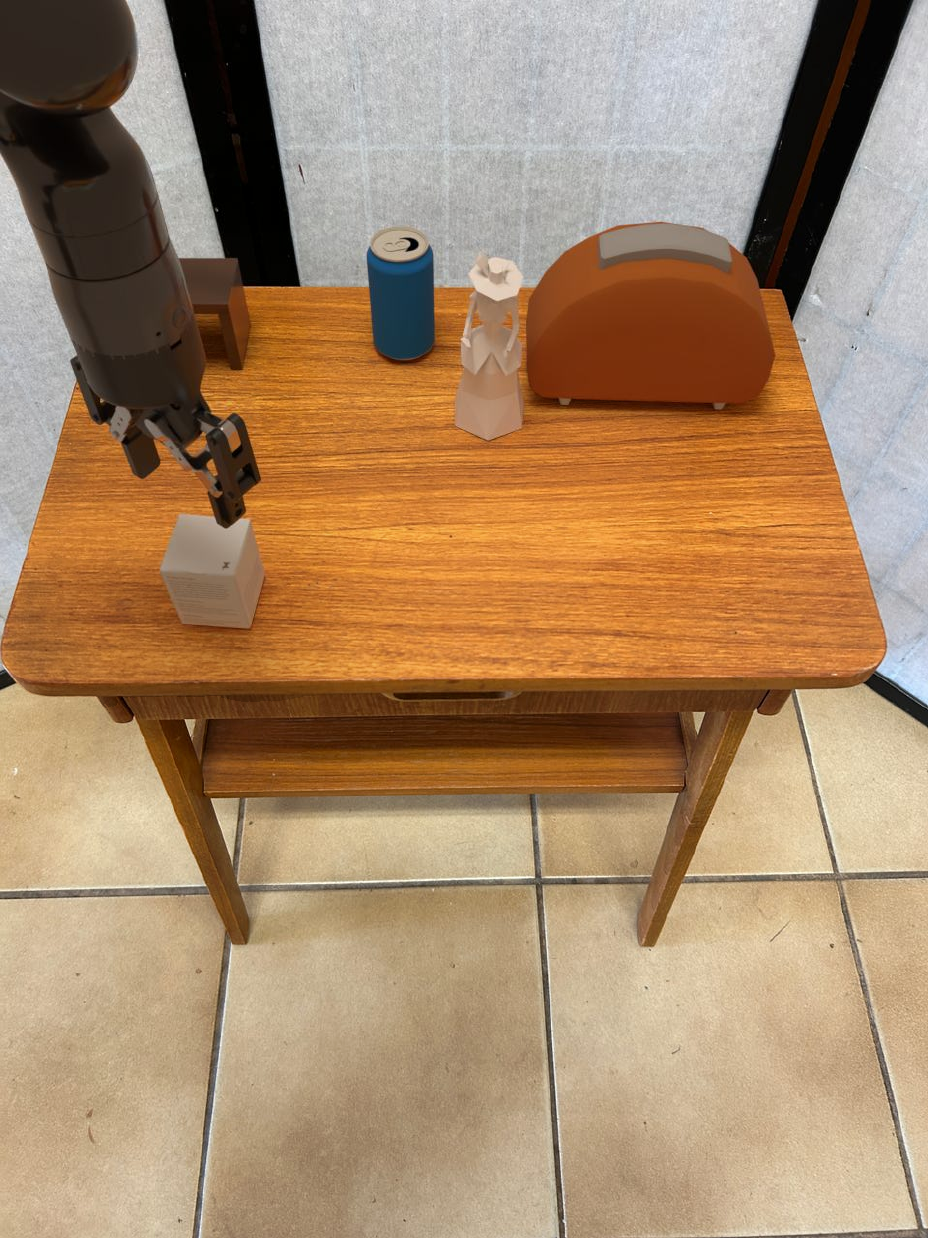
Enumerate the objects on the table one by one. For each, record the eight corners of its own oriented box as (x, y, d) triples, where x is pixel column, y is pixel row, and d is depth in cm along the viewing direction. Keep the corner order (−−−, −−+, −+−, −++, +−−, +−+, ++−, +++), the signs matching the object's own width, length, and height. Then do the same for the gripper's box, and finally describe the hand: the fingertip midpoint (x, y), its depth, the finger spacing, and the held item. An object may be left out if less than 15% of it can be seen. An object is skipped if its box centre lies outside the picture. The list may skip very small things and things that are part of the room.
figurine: (455, 442, 92) (456, 280, 78) (453, 386, 97) (453, 223, 82) (528, 440, 92) (542, 279, 78) (521, 384, 97) (534, 222, 82)
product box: (267, 574, 83) (253, 517, 77) (251, 631, 79) (235, 576, 73) (198, 568, 83) (178, 511, 77) (178, 625, 79) (156, 570, 73)
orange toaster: (745, 357, 100) (792, 208, 86) (758, 415, 95) (810, 267, 81) (523, 350, 100) (534, 201, 87) (523, 408, 95) (535, 260, 81)
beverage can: (442, 358, 99) (441, 255, 90) (382, 370, 98) (375, 267, 88) (425, 320, 103) (422, 218, 93) (367, 332, 102) (358, 229, 92)
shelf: (242, 369, 98) (227, 303, 92) (135, 370, 98) (112, 303, 91) (251, 323, 102) (237, 257, 96) (148, 323, 102) (127, 257, 96)
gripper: (1, 300, 58) (85, 485, 71) (169, 391, 54) (225, 570, 67) (93, 242, 62) (157, 428, 75) (258, 322, 57) (295, 505, 70)
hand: (189, 495), depth 71 cm, fingers open, 8 cm apart
